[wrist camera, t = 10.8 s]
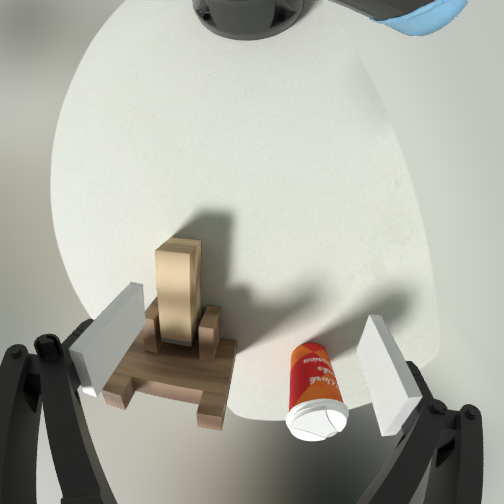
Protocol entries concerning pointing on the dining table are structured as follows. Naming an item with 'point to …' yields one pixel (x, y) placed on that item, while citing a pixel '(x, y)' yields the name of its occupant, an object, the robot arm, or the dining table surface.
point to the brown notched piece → (177, 368)
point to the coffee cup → (314, 395)
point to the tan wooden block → (179, 289)
